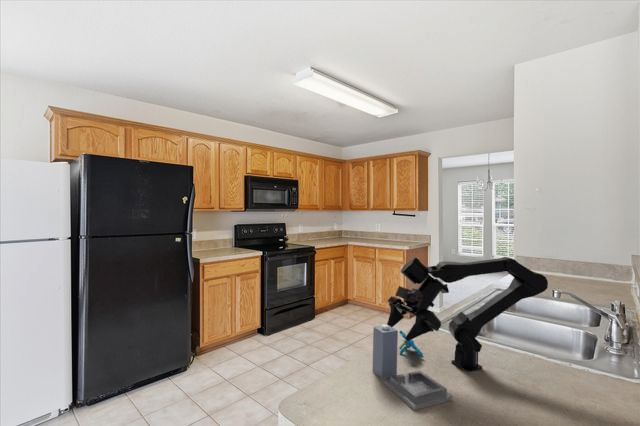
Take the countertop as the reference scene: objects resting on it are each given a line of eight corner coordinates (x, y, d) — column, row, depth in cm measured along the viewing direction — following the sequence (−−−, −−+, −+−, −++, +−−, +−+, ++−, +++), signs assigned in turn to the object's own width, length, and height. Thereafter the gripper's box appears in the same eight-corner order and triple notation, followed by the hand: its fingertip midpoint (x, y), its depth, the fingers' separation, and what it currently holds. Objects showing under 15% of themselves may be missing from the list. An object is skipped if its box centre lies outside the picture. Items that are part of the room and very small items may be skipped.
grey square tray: (420, 376, 91) (420, 368, 91) (452, 400, 80) (452, 390, 80) (385, 384, 86) (385, 375, 86) (414, 410, 75) (414, 399, 75)
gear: (427, 357, 100) (404, 332, 102) (413, 370, 100) (391, 345, 102) (420, 347, 111) (399, 325, 113) (408, 359, 111) (387, 336, 112)
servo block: (386, 367, 96) (387, 322, 96) (396, 375, 91) (397, 327, 91) (372, 370, 94) (373, 324, 94) (382, 378, 89) (383, 329, 89)
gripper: (393, 271, 105) (363, 308, 101) (434, 283, 88) (401, 328, 84) (411, 293, 108) (383, 329, 104) (454, 309, 91) (423, 353, 87)
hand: (396, 334), depth 95 cm, fingers open, 9 cm apart
